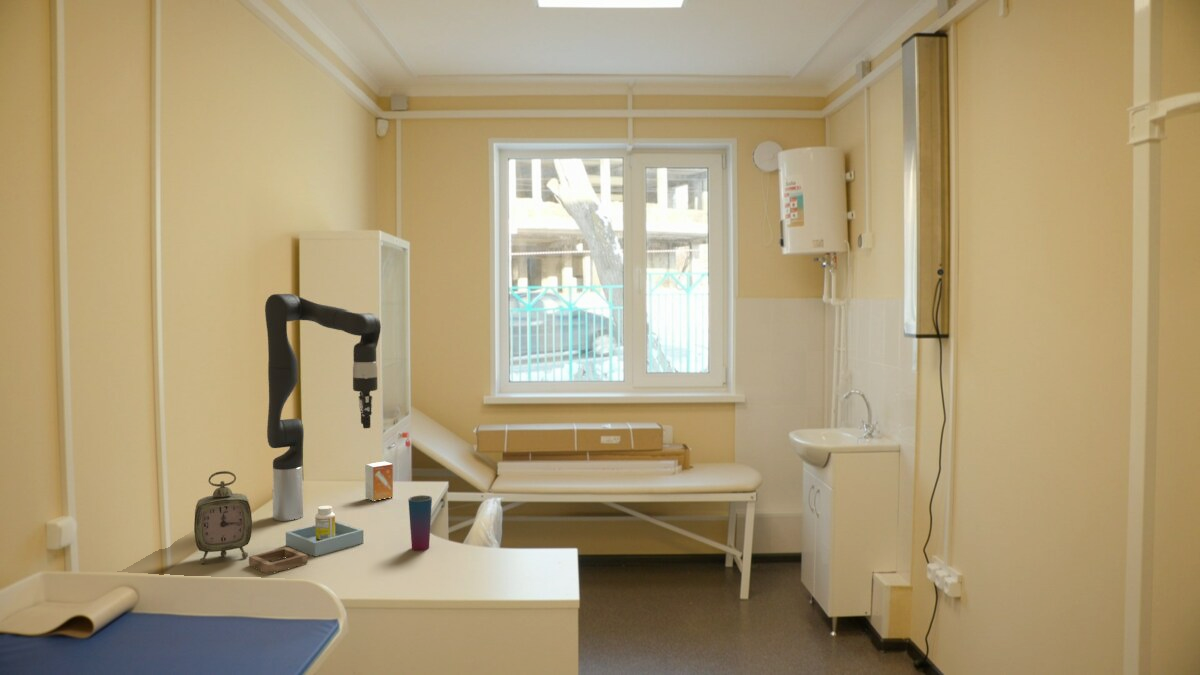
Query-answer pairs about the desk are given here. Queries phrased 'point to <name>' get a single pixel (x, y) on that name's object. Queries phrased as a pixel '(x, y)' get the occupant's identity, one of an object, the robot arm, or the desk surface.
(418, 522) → the cup
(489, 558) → the desk surface
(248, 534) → the tabletop clock
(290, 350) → the robot arm
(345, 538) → the tray
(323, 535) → the supplement bottle
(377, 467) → the small box
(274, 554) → the holder
